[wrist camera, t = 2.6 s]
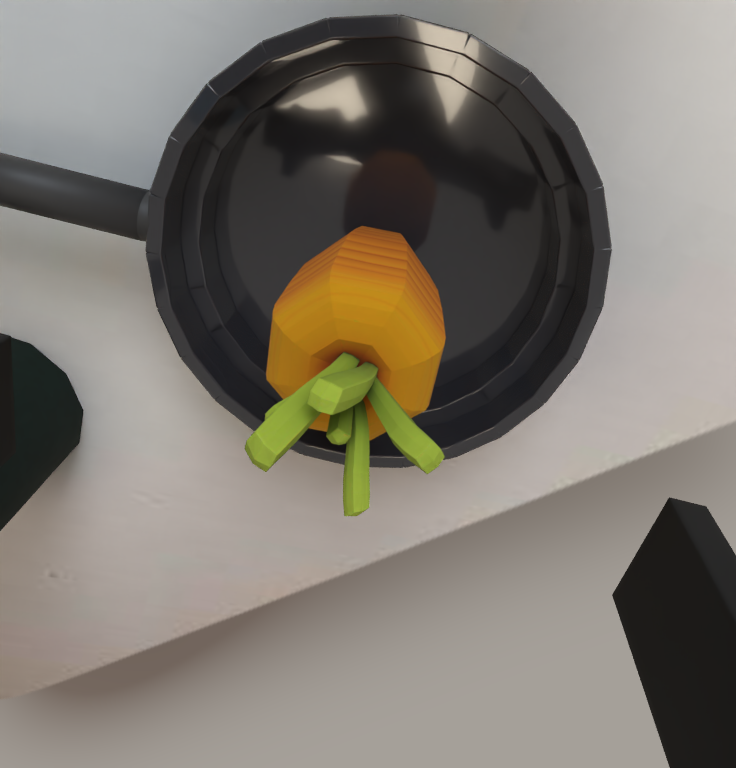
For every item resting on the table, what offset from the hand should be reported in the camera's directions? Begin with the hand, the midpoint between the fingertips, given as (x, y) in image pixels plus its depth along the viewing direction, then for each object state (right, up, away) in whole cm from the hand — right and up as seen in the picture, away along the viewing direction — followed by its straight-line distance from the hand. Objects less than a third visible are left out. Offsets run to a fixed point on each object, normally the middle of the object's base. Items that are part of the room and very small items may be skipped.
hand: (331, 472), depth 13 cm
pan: (+1, +7, +13) cm, 15 cm away
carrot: (+1, +7, +13) cm, 15 cm away
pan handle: (-12, +9, +11) cm, 19 cm away
